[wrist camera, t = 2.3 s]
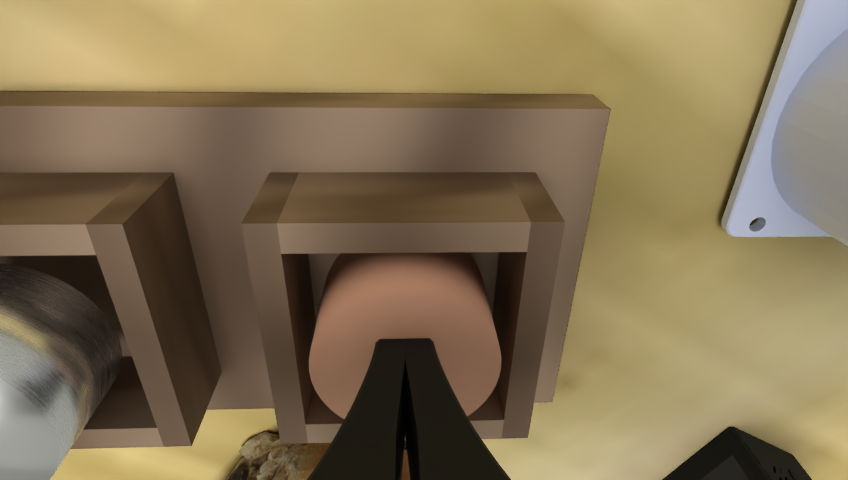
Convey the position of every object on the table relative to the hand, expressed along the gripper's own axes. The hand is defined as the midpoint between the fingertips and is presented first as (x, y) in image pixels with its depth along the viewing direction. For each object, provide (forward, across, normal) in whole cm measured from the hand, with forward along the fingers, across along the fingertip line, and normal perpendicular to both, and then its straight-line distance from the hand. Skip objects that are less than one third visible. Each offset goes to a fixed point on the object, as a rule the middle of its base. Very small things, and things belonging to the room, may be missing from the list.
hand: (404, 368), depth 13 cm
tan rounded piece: (+3, 0, 0) cm, 3 cm away
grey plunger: (+1, +10, 0) cm, 10 cm away
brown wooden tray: (+5, +5, 0) cm, 7 cm away
